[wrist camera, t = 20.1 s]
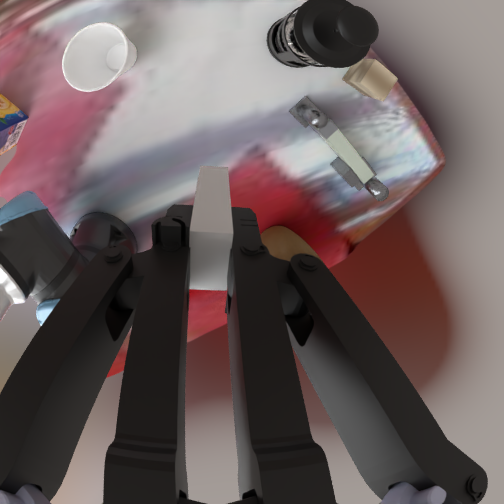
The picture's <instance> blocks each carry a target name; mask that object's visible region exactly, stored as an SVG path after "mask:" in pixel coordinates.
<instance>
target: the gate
mask: <svg viewBox="0 0 504 504" xmlns="http://www.w3.org/2000/svg"><path fill="white" fill-rule="evenodd" d="M327 118H328V117H327ZM308 124H309V125H310V126H311V127H312V128H313V129H314V130H315V131H316V132H317V133H318V134H319V135H320V136H321V137H322V138H323V139H324V140H325V142H326V143H327V144H328V145H329V146H330V147H331V148H332V149H333V151H334V152H335V153H336V154H337V155H338V156H339V158H340V159H341V160H342V161H343V162H344V163H345V164H346V165H347V166H348V167H350V168H351V170H352V171H353V172H354V173H355V174H356V176H357V177H358V178H359V179H360V181H361V182H363V183H364V184H365V183H366V182H367V181H368V180H369V179H370V178H372V177H373V176H374V174H373V172H372V171H371V170H370V168H369V167H368V166H367V164H366V163H365V162H364V160H363V159H362V158H361V157H360V155H359V154H358V153H357V151H356V150H355V149H354V148H353V146H352V145H351V144H350V143H349V141H348V140H347V139H346V138H345V137H344V135H343V134H342V133H341V132H340V131H339V128H338V127H337V126H336V125H335V124H334V122H333V121H332V120H331V119H329V118H328V123H327V125H326V126H325V127H324V128H316V127H315V126H313V125H312V124H310V123H309V122H308Z"/></svg>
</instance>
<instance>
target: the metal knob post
mask: <svg viewBox="0 0 504 504" xmlns="http://www.w3.org/2000/svg"><path fill="white" fill-rule="evenodd" d="M361 158H362V159H363V160H364V162H365V163H366V164H367V166H368V167H369V168H370V170H371V171H372V172H373V174H374V176H373V177H372V178H370V179H369V180H368V181H367V182H366V183H365V184H364V183H363V182H361V181H360V179H359V178H358V177H357V176H356V174H355V173H354V172H353V171H352V170H351V168H350V167H348V166H347V165H346V164H345V163H344V162H343V161H342V160H341V159H340V158H338V157H337V158H336V159H335V160H334V161H333V162H332V163H331V166H332V167H333V168H334V169H335V170H336V171H337V172H338V173H339V174H340V175H341V176H342V178H343V179H344V180H345V181H346V182H347V183H348V184H349V185H350V186H351V187H353V186H355V187H356V188H357V189H358V190H359V191H360V190H361V189H362V188H363V187H365V188H366V189H367V190H368V191H369V192H370V193H371V194H372V195H373V196H374V197H375V199H376V200H378V201H383V200H385V199H386V198H387V197H388V194H389V190H388V188H387V187H386V186H384V185H383V184H382V183H381V182H380V181H379V180H378V179H377V178H376V177H375V176H376V175H377V174H376V173H375V172H374V170H373V169H372V168H371V166H370V165H369V164H368V162H367V161H366V160H365V158H364V157H361Z"/></svg>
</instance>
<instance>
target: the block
mask: <svg viewBox="0 0 504 504" xmlns="http://www.w3.org/2000/svg"><path fill="white" fill-rule="evenodd" d="M397 79H398V78H397V77H395V76H394V75H393V74H392V73H391V72H390V71H389V70H388V69H386V68H385V67H384V66H383V65H382V64H381V63H379V62H378V61H377V60H376V59H362V60H361V61H359V62H358V63H357V64H354V65H352V66H351V67H350V68H349V70H348V71H347V73H346V74H345V76H344V78H343V79H342V80H343V81H345V82H346V83H348V84H349V85H350V86H352V87H353V88H355V89H356V90H357V91H359V92H360V93H361V94H363V95H364V96H368V97H371V98H374V99H377V100H380V101H384V100H385V98H386V97H387V95H388V94H389V92H390V90H391V89H392V87H393V86H394V84H395V82H396V81H397Z"/></svg>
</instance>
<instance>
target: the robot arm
mask: <svg viewBox="0 0 504 504" xmlns="http://www.w3.org/2000/svg"><path fill="white" fill-rule="evenodd" d="M152 241H153V246H152V248H151V249H150V250H147V251H144V252H140V253H137V245H136V240H135V238H134V235H133V233H132V232H131V230H130V229H129V228H128V227H127V225H126V224H124V223H123V222H122V221H121V220H119V219H118V218H116V217H114V216H112V215H109V214H105V213H91V214H88V215H85V216H84V217H82V218H81V219H80V220H79V221H78V222H77V224H76V225H75V227H74V228H73V230H72V232H71V235H70V239H69V238H68V236H67V235H66V234H65V233H64V231H63V230H62V228H61V227H60V226H59V224H58V223H57V222H56V220H55V219H54V218H53V216H52V215H51V213H50V212H49V210H48V207H47V206H45V205H44V204H43V203H42V201H41V200H40V199H39V197H38V196H37V195H36V194H35V193H34V192H32V191H25V192H23V193H21V194H19V195H18V196H16V197H15V198H13V199H12V200H11V201H9V202H8V203H6V204H5V205H4V206H3V207H2V208H0V322H1V320H2V319H3V317H4V316H5V314H6V312H7V311H8V309H9V308H10V306H11V305H12V304H17V303H24V302H25V300H26V299H27V298H28V296H31V298H32V299H33V300H34V301H35V302H36V303H37V304H38V306H37V309H36V310H37V312H36V316H37V319H38V321H39V323H40V325H41V327H40V329H39V330H38V332H37V333H36V335H35V336H34V338H33V339H32V341H31V342H30V344H29V345H28V347H27V348H26V350H25V352H24V353H23V355H22V356H21V358H20V360H19V361H18V363H17V365H16V366H15V368H14V370H13V371H12V373H11V375H10V377H9V379H8V380H7V382H6V384H5V386H4V388H3V390H2V392H1V394H0V504H51V503H50V501H51V499H52V498H53V497H54V496H55V494H56V493H57V491H58V489H59V488H60V486H61V484H62V482H63V479H64V477H65V475H66V472H67V470H68V467H69V464H70V462H71V459H72V456H73V454H74V451H75V448H76V446H77V443H78V441H79V438H80V436H81V433H82V431H83V428H84V426H85V423H86V421H87V419H88V416H89V414H90V412H91V409H92V407H93V405H94V403H95V400H96V398H97V396H98V393H99V391H100V389H101V387H102V385H103V383H104V381H105V379H106V376H107V374H108V372H109V370H110V368H111V366H112V364H113V362H114V360H115V358H116V356H117V354H118V352H119V350H120V348H121V346H122V344H123V342H124V340H125V338H126V336H127V334H128V332H129V330H130V328H131V326H132V330H131V335H130V340H129V345H128V350H127V356H126V361H125V367H124V373H123V379H122V386H121V393H120V400H119V408H118V416H117V425H116V434H115V439H114V441H113V442H112V444H111V445H110V446H109V447H108V450H107V452H106V458H105V469H104V495H103V496H104V497H103V503H102V504H206V503H201V502H197V501H193V500H189V499H188V484H187V472H186V462H185V461H186V460H185V375H186V374H185V373H186V347H187V328H188V311H189V289H200V290H223V291H227V290H228V291H227V299H226V308H225V313H227V321H228V338H229V355H230V370H231V383H232V397H233V410H234V421H235V433H236V445H237V456H238V486H239V496H240V501H235V502H232V503H228V504H337V503H336V500H335V495H334V490H333V485H332V481H331V476H330V471H329V467H328V462H327V459H326V455H325V453H324V451H323V449H322V448H321V446H319V445H318V444H317V443H315V442H314V440H313V439H312V435H311V432H310V427H309V422H308V418H307V413H306V408H305V404H304V399H303V394H302V390H301V386H300V381H299V376H298V372H297V368H296V363H295V359H294V355H293V350H292V347H293V349H294V351H295V353H296V355H297V356H298V358H299V360H300V362H301V364H302V366H303V368H304V370H305V372H306V374H307V375H308V377H309V379H310V381H311V383H312V385H313V387H314V389H315V390H316V392H317V394H318V396H319V398H320V400H321V402H322V404H323V406H324V407H325V409H326V411H327V413H328V415H329V417H330V419H331V421H332V422H333V424H334V426H335V428H336V430H337V432H338V434H339V435H340V437H341V439H342V441H343V443H344V445H345V447H346V448H347V450H348V452H349V454H350V456H351V457H352V460H353V461H354V463H355V465H356V466H357V469H358V471H359V472H360V474H361V476H362V477H363V479H364V480H365V482H366V484H367V485H368V486H369V487H370V488H371V490H372V491H374V493H375V494H376V495H377V496H378V497H379V498H380V499H382V502H381V503H379V504H477V503H479V502H480V501H481V500H482V498H483V497H484V495H485V493H486V489H487V484H488V483H487V482H488V479H487V475H486V472H485V471H484V470H483V468H481V467H480V466H479V465H478V464H477V463H476V462H474V461H473V460H472V459H471V458H469V457H468V456H467V455H466V454H464V453H463V452H462V451H461V450H460V449H458V448H457V447H456V446H455V445H453V444H452V443H451V442H450V441H448V440H447V438H446V437H445V435H444V433H443V432H442V430H441V428H440V427H439V425H438V424H437V422H436V420H435V419H434V417H433V416H432V414H431V413H430V411H429V409H428V408H427V406H426V405H425V403H424V402H423V400H422V398H421V397H420V395H419V394H418V392H417V391H416V389H415V388H414V386H413V385H412V383H411V382H410V381H409V379H408V377H407V376H406V374H405V373H404V372H403V370H402V369H401V367H400V366H399V364H398V363H397V361H396V360H395V358H394V357H393V356H392V354H391V353H390V351H389V350H388V349H387V347H386V346H385V344H384V343H383V341H382V340H381V339H380V338H379V336H378V334H377V333H376V332H375V330H374V329H373V328H372V326H371V325H370V323H369V322H368V321H367V319H366V318H365V317H364V315H363V314H362V313H361V311H360V310H359V309H358V307H357V306H356V305H355V303H354V302H353V301H352V299H351V298H350V297H349V295H348V294H347V293H346V291H345V290H344V289H343V287H342V286H341V285H340V284H339V282H338V281H337V280H336V278H335V277H334V276H333V274H332V273H331V272H330V271H329V269H328V268H327V267H326V265H325V264H324V263H323V262H322V261H321V260H320V259H319V258H317V257H315V256H313V255H310V254H306V253H299V254H295V255H294V256H292V257H291V259H290V261H287V260H283V259H279V258H277V257H274V256H272V255H270V253H269V250H268V248H267V246H265V245H264V244H263V243H262V240H261V236H260V231H259V227H258V223H257V218H256V214H255V213H254V212H253V211H252V210H251V209H250V208H240V207H231V200H230V188H229V176H228V167H214V166H200V170H199V176H198V182H197V187H196V193H195V199H194V205H175V204H174V205H172V206H171V207H170V208H169V209H168V210H167V213H166V217H162V218H159V219H157V220H156V221H154V222H153V224H152ZM132 324H133V325H132Z"/></svg>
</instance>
